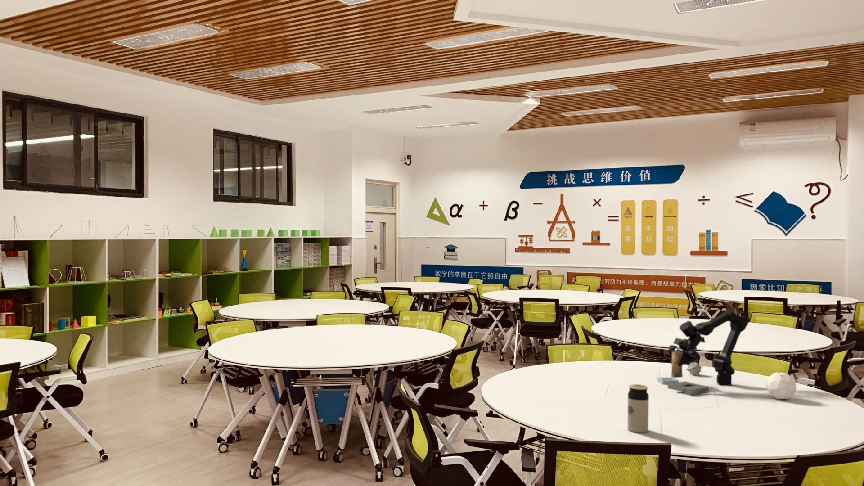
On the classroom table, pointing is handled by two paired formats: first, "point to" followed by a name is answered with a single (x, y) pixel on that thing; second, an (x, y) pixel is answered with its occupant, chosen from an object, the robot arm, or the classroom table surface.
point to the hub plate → (689, 388)
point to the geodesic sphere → (781, 386)
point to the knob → (676, 365)
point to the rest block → (667, 380)
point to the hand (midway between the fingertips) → (674, 364)
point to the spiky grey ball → (694, 368)
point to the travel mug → (638, 408)
